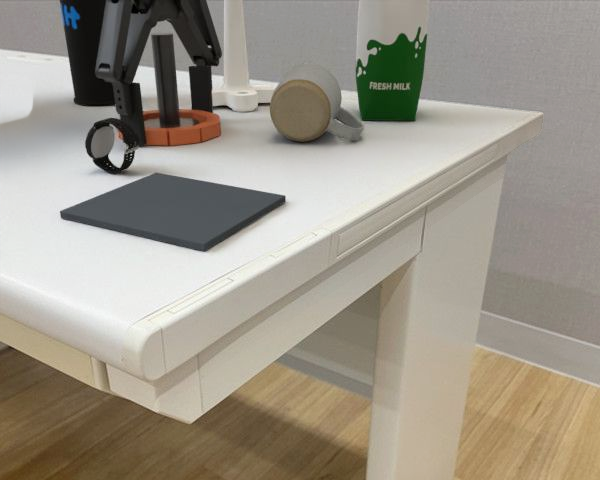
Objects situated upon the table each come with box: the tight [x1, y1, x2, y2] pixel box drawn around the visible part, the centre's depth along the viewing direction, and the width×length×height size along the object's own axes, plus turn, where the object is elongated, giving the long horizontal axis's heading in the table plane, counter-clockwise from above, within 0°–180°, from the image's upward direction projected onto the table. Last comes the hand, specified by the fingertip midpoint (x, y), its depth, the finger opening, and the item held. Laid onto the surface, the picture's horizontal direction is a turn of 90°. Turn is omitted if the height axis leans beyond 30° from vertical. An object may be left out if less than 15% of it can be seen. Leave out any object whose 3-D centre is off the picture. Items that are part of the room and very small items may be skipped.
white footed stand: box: [212, 0, 277, 113], centre depth 85 cm, size 11×8×20 cm
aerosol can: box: [59, 0, 125, 107], centre depth 88 cm, size 8×8×20 cm
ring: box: [117, 108, 222, 147], centre depth 76 cm, size 12×12×2 cm
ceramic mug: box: [269, 62, 365, 143], centre depth 73 cm, size 11×8×8 cm
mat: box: [59, 172, 287, 252], centre depth 52 cm, size 14×12×1 cm
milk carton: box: [355, 0, 431, 122], centre depth 81 cm, size 9×9×20 cm
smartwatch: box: [84, 117, 140, 175], centre depth 61 cm, size 4×5×5 cm
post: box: [144, 32, 200, 128], centre depth 73 cm, size 7×7×11 cm
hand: (171, 131), depth 76 cm, fingers closed on ring, 12 cm apart
